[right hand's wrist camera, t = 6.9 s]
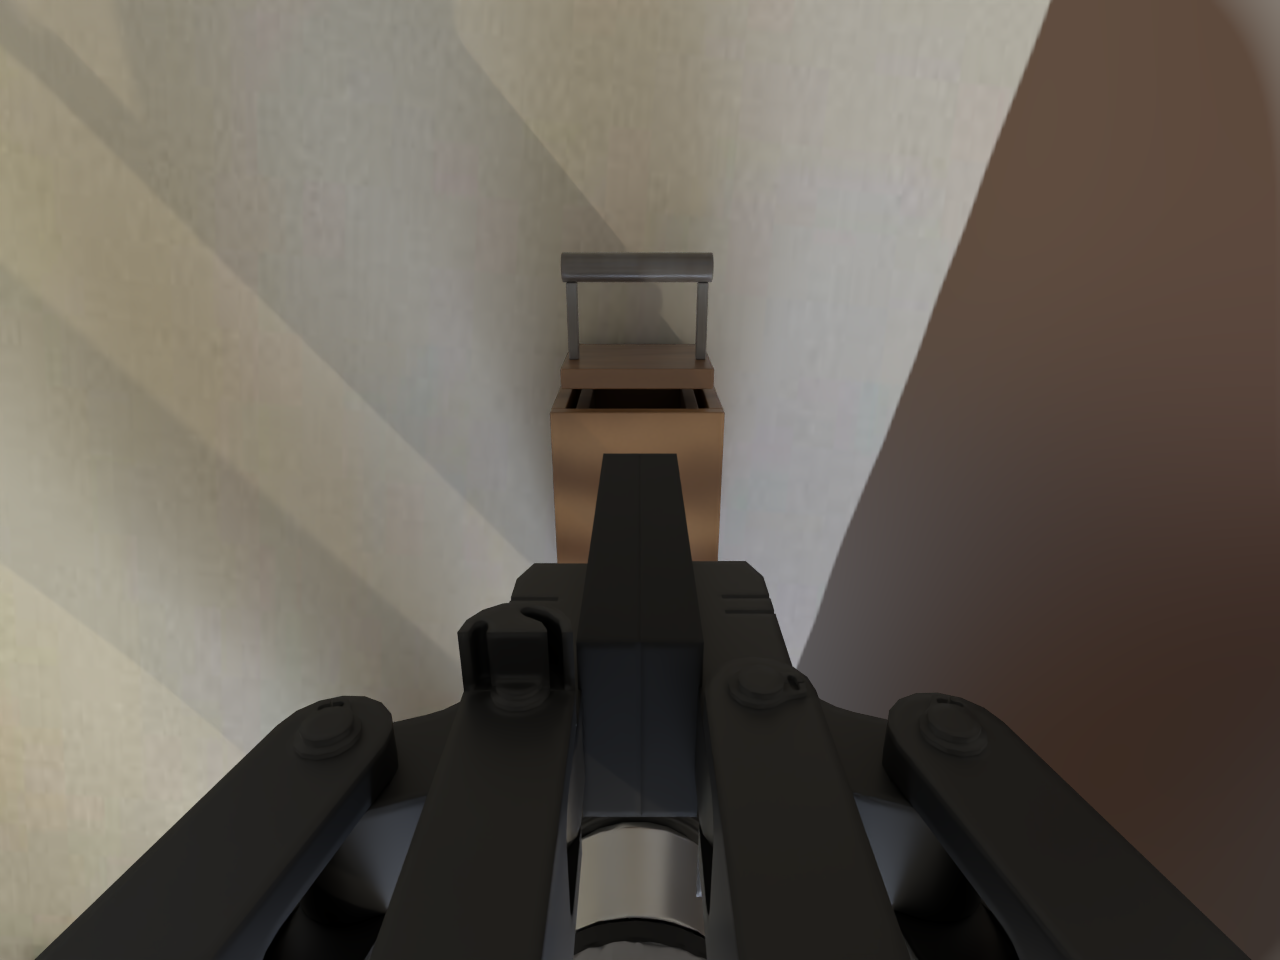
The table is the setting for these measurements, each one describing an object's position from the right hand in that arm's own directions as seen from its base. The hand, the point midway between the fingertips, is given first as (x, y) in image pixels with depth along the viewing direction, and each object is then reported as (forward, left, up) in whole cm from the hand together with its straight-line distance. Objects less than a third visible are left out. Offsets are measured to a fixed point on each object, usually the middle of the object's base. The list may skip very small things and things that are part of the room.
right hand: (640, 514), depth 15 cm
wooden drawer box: (+14, +5, -34) cm, 37 cm away
